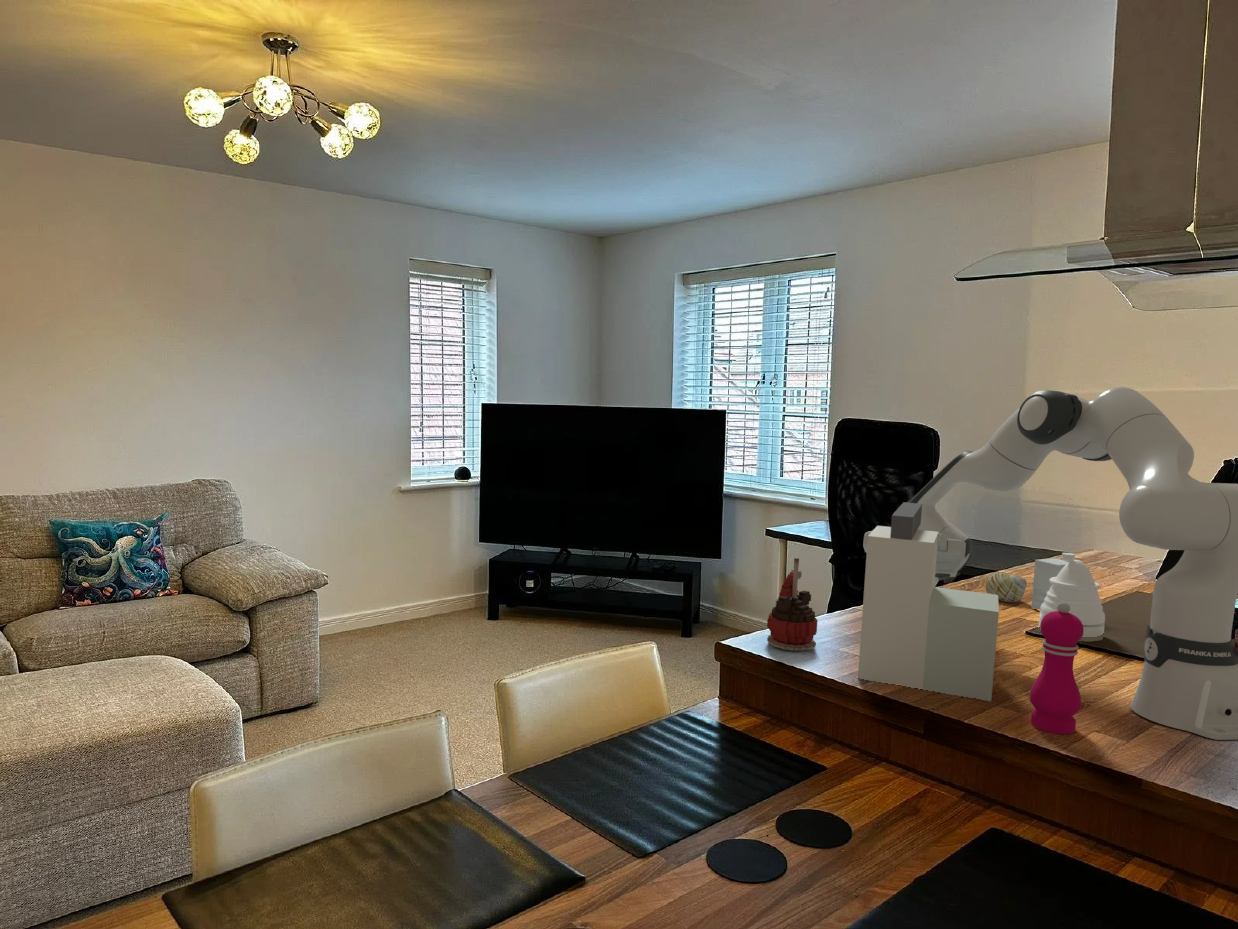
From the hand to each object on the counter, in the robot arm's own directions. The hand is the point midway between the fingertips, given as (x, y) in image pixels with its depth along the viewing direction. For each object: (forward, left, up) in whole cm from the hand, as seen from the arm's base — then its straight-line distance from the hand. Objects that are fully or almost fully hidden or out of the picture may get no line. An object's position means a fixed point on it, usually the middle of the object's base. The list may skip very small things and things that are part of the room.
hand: (912, 534), depth 172 cm
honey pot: (-41, -18, -23) cm, 51 cm away
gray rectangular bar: (+5, +14, +3) cm, 15 cm away
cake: (+24, +5, -23) cm, 34 cm away
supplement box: (-46, -38, -23) cm, 64 cm away
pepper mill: (-12, +40, -23) cm, 48 cm away
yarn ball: (-39, -49, -24) cm, 66 cm away
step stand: (+1, +20, -23) cm, 31 cm away
